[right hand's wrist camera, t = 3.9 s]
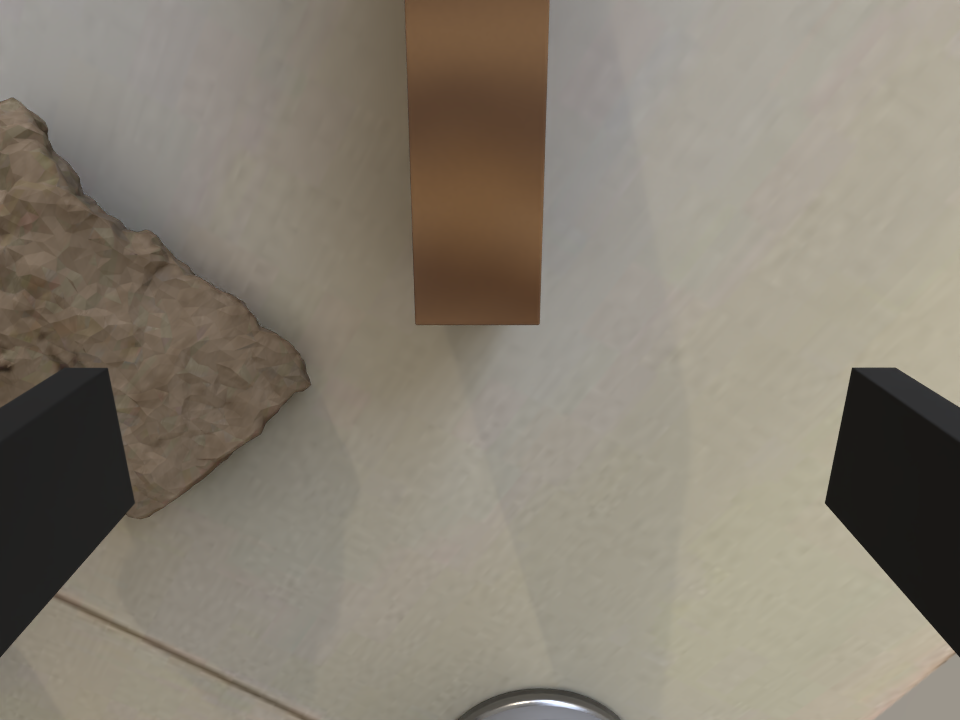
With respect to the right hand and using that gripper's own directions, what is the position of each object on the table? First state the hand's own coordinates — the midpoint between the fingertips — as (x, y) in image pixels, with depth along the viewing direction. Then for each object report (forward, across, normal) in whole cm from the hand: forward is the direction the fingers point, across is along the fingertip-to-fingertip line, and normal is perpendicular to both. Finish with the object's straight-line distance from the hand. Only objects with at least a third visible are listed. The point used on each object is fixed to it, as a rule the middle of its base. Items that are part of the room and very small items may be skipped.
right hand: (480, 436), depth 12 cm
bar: (+28, 0, -10) cm, 30 cm away
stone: (+28, +21, +6) cm, 35 cm away
